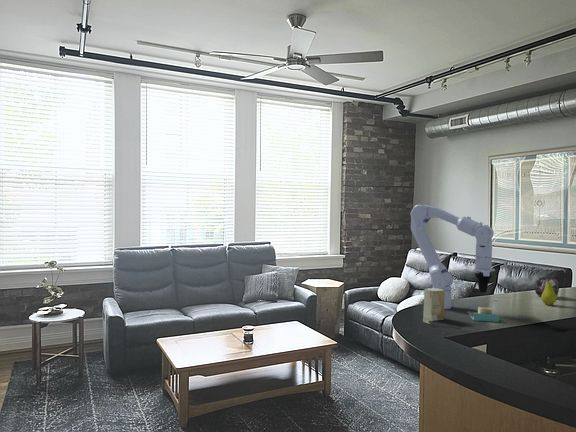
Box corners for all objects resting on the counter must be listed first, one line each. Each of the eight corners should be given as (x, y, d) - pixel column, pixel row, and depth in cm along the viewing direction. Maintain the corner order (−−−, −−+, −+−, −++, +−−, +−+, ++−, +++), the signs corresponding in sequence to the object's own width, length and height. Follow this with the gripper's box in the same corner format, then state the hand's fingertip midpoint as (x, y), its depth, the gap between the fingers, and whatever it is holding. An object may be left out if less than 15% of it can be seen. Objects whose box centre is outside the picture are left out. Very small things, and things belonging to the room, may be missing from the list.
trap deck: (466, 315, 179) (467, 305, 179) (489, 316, 178) (490, 306, 177) (473, 324, 165) (473, 313, 165) (498, 326, 164) (499, 315, 164)
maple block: (480, 320, 166) (480, 309, 166) (477, 317, 170) (478, 306, 170) (491, 320, 165) (492, 309, 165) (489, 318, 169) (489, 307, 169)
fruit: (559, 306, 197) (560, 278, 197) (545, 306, 197) (546, 278, 197) (551, 303, 203) (552, 276, 203) (538, 303, 203) (539, 276, 203)
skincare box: (431, 325, 164) (432, 290, 163) (422, 322, 168) (423, 288, 167) (444, 323, 167) (445, 289, 166) (435, 320, 171) (436, 287, 170)
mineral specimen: (532, 294, 215) (534, 273, 218) (536, 299, 223) (537, 279, 226) (557, 296, 209) (557, 275, 212) (559, 301, 217) (560, 281, 220)
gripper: (498, 259, 169) (497, 296, 169) (491, 255, 183) (490, 289, 183) (478, 258, 171) (477, 295, 171) (472, 254, 185) (471, 288, 185)
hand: (482, 292), depth 177 cm, fingers closed
